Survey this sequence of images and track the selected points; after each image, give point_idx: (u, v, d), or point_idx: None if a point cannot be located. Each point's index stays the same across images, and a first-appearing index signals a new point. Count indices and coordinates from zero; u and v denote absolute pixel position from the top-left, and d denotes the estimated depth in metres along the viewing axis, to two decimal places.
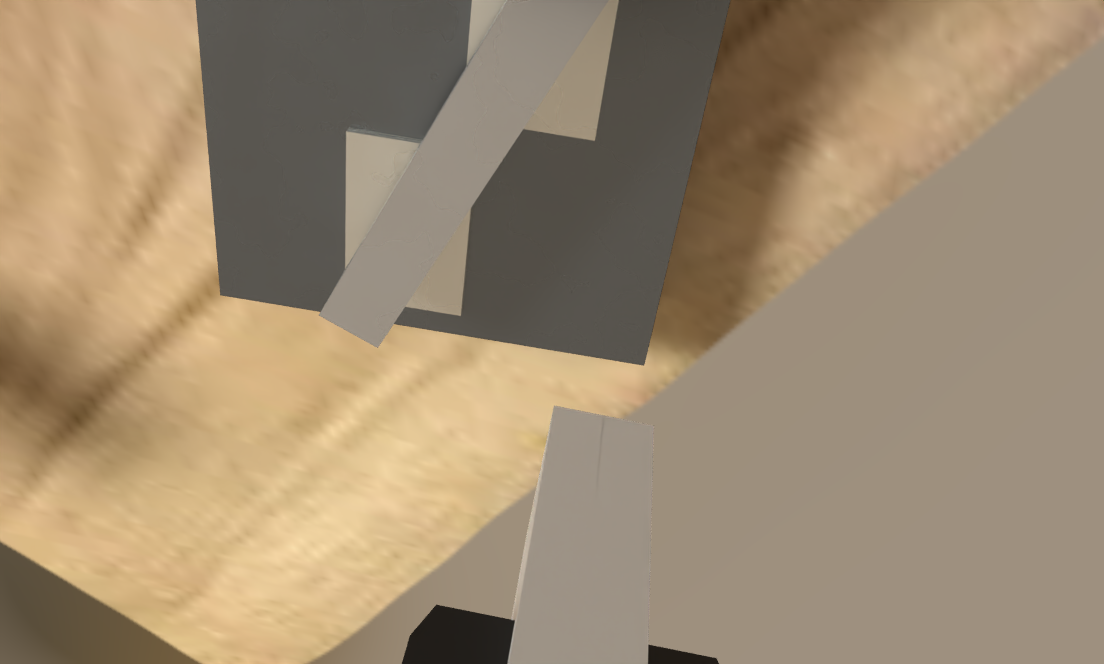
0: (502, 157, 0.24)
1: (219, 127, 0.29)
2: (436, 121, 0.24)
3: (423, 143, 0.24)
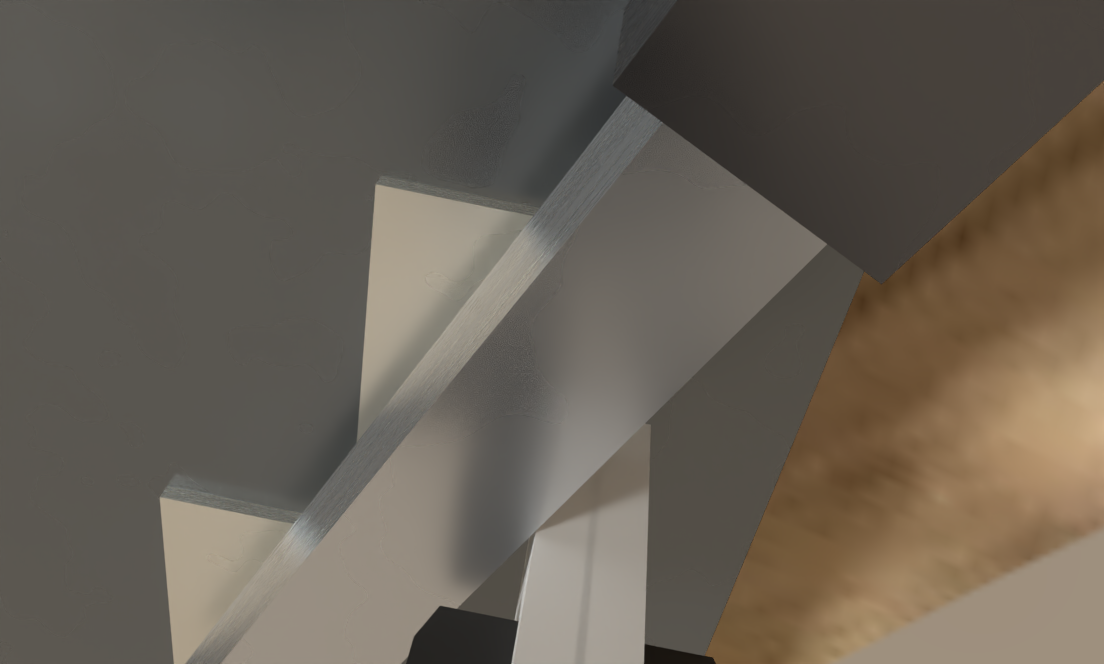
0: (399, 660, 0.13)
1: None
2: (273, 603, 0.13)
3: (251, 629, 0.13)
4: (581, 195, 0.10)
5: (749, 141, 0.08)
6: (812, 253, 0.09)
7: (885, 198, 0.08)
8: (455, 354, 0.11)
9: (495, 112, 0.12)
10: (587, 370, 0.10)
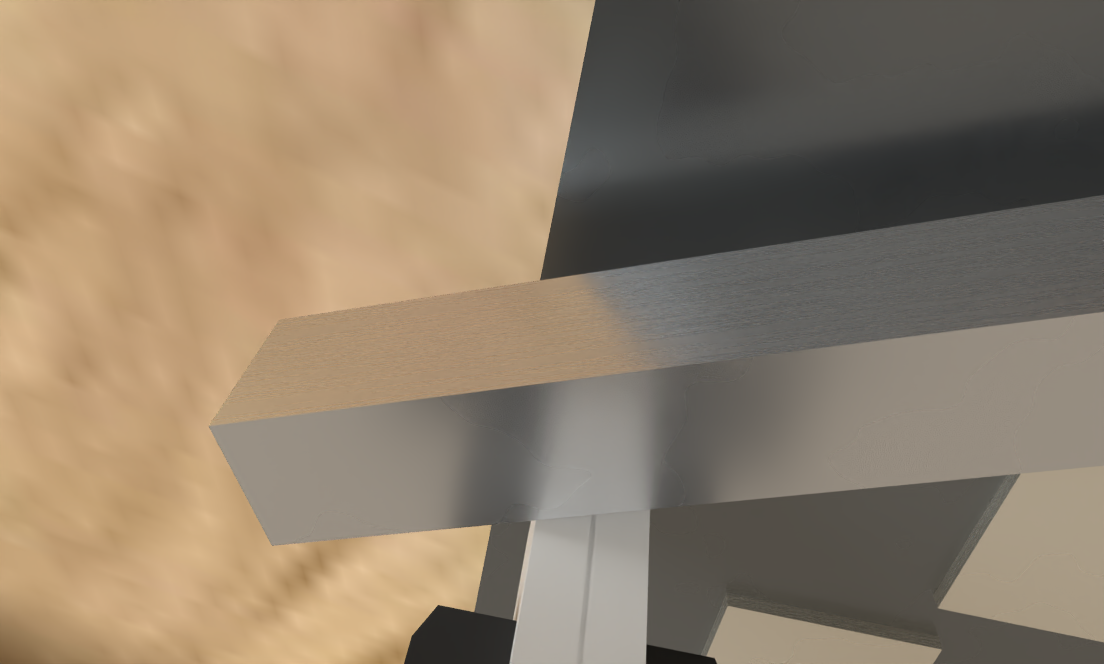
0: (872, 484, 0.10)
1: (504, 574, 0.17)
2: (851, 347, 0.10)
3: (777, 356, 0.10)
4: None
5: None
6: None
7: None
8: None
9: None
10: None
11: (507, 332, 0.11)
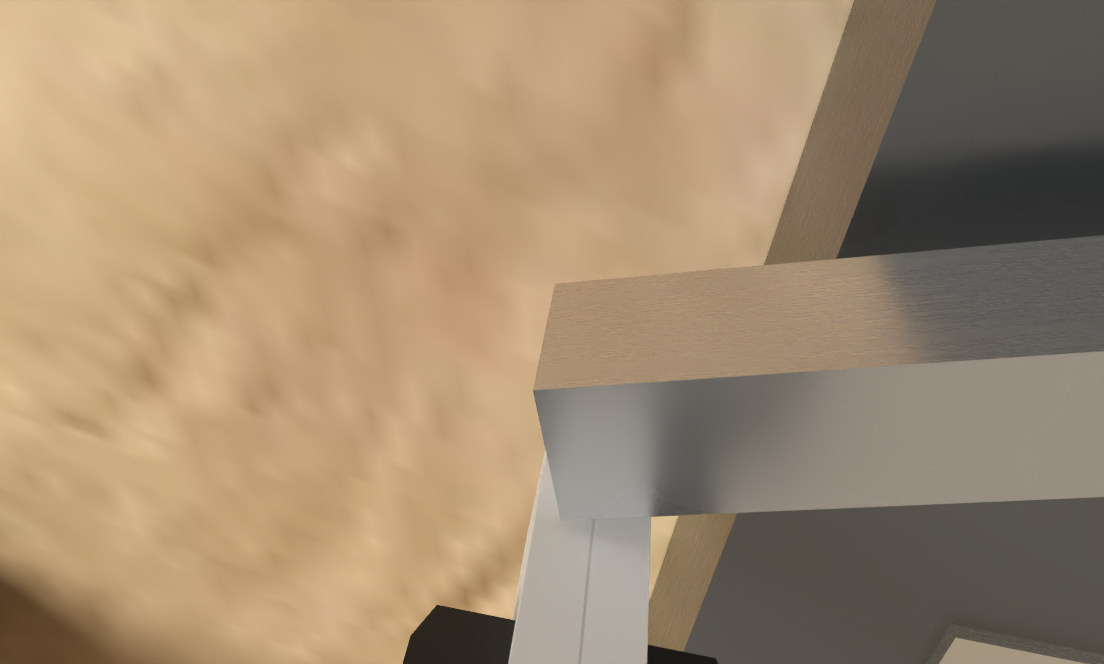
0: None
1: (724, 605, 0.17)
2: None
3: None
4: None
5: None
6: None
7: None
8: None
9: None
10: None
11: (843, 309, 0.11)
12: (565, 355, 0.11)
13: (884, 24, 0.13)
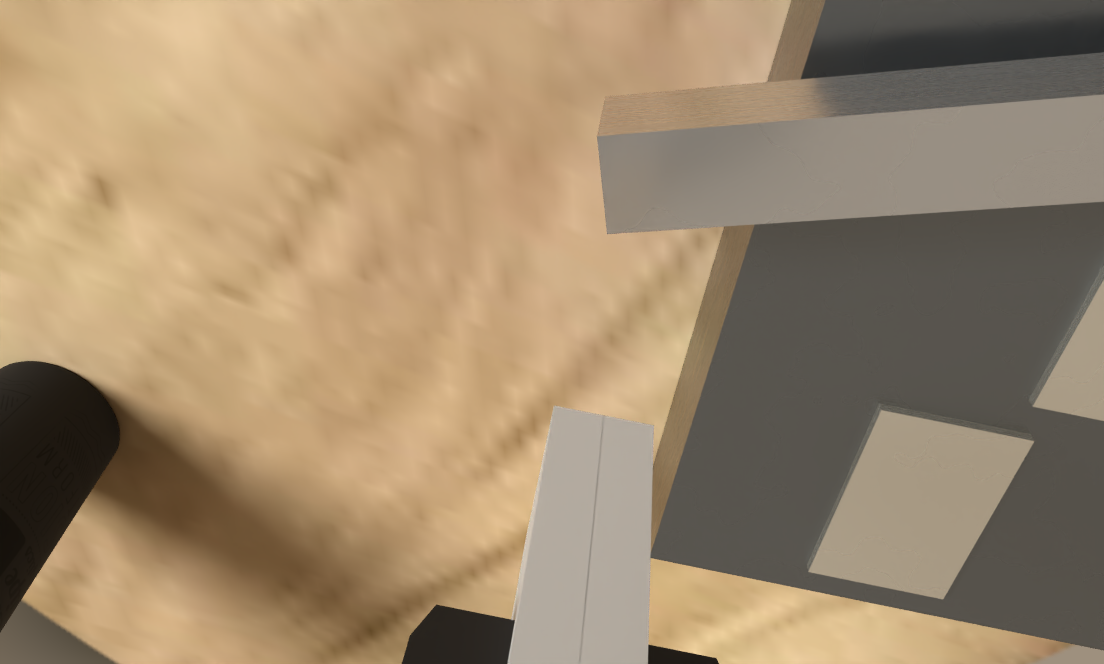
0: (1016, 205, 0.17)
1: (717, 393, 0.24)
2: (1023, 103, 0.16)
3: (977, 107, 0.16)
4: None
5: None
6: None
7: None
8: None
9: None
10: None
11: (786, 99, 0.18)
12: (615, 123, 0.18)
13: None
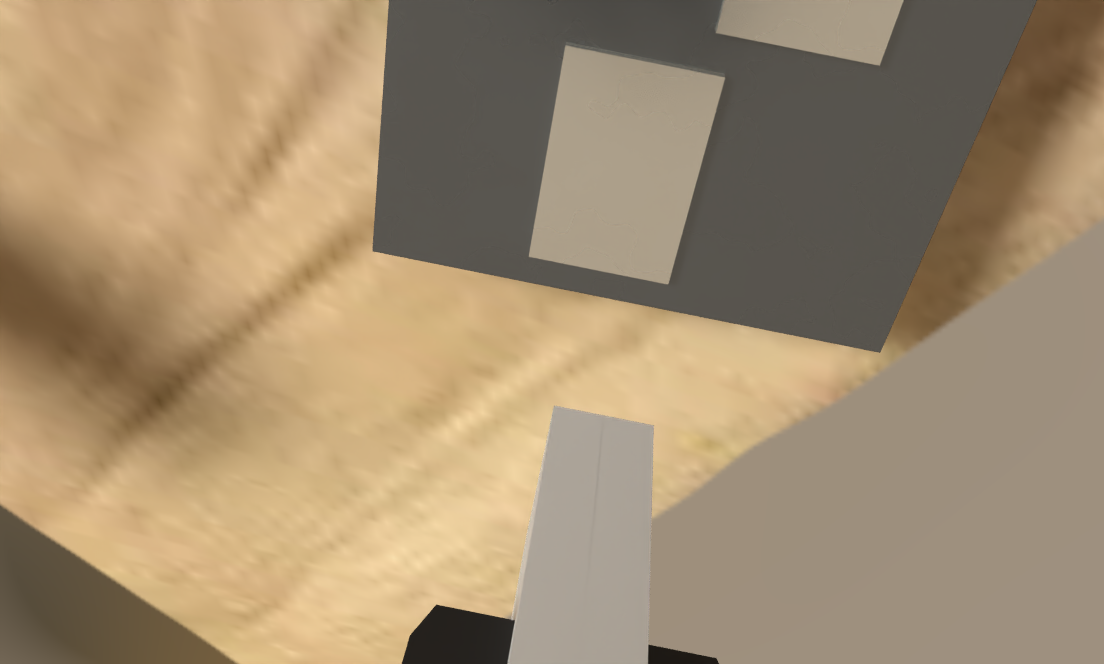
0: None
1: (403, 37, 0.23)
2: None
3: None
4: None
5: None
6: None
7: None
8: None
9: None
10: None
11: None
12: None
13: None
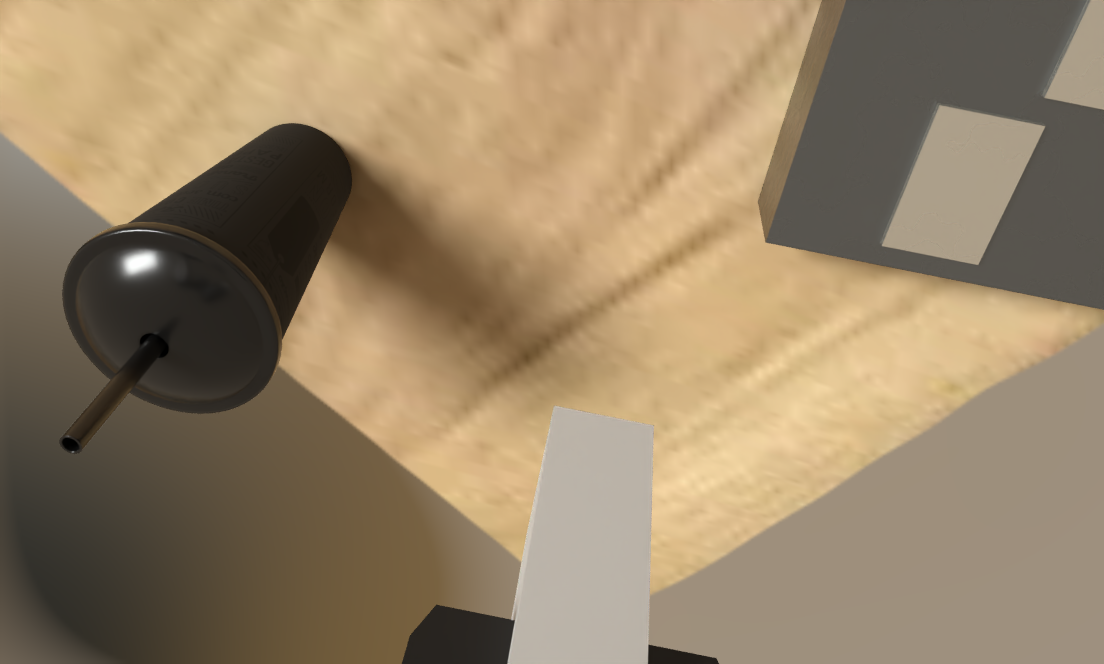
0: None
1: (824, 99, 0.35)
2: None
3: None
4: None
5: None
6: None
7: None
8: None
9: None
10: None
11: None
12: None
13: None
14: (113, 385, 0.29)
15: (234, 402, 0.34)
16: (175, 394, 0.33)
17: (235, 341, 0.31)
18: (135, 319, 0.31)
